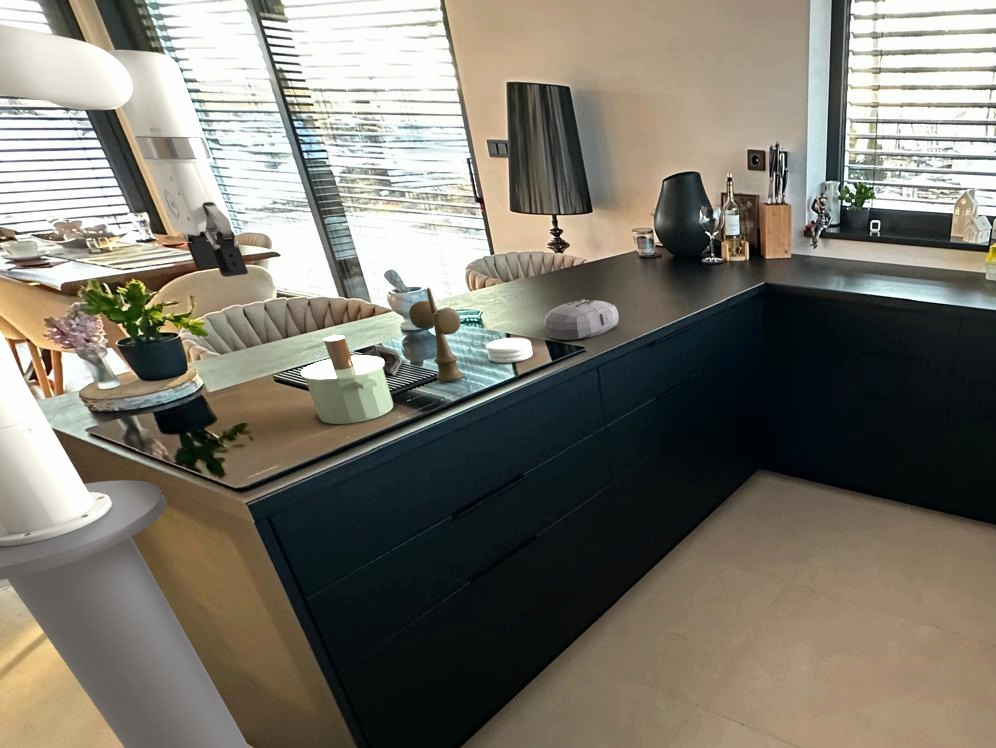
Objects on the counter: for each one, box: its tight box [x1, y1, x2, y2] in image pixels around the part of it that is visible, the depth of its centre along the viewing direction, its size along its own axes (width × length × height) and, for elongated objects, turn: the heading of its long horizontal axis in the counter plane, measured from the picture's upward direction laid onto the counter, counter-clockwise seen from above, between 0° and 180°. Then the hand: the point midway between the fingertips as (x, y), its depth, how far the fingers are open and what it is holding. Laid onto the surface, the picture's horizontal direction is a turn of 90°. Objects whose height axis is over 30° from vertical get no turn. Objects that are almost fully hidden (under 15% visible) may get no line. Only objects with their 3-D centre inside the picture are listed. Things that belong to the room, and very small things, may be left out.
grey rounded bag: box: [543, 298, 619, 341], centre depth 168 cm, size 15×8×20 cm
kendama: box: [408, 287, 464, 383], centre depth 132 cm, size 6×10×20 cm, turn 58°
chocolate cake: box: [355, 342, 403, 376], centre depth 139 cm, size 10×7×12 cm
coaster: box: [485, 337, 533, 364], centre depth 150 cm, size 10×10×4 cm
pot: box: [304, 368, 394, 425], centre depth 118 cm, size 12×17×8 cm
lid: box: [300, 335, 385, 381], centre depth 115 cm, size 13×13×7 cm
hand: (222, 271), depth 98 cm, fingers open, 9 cm apart
